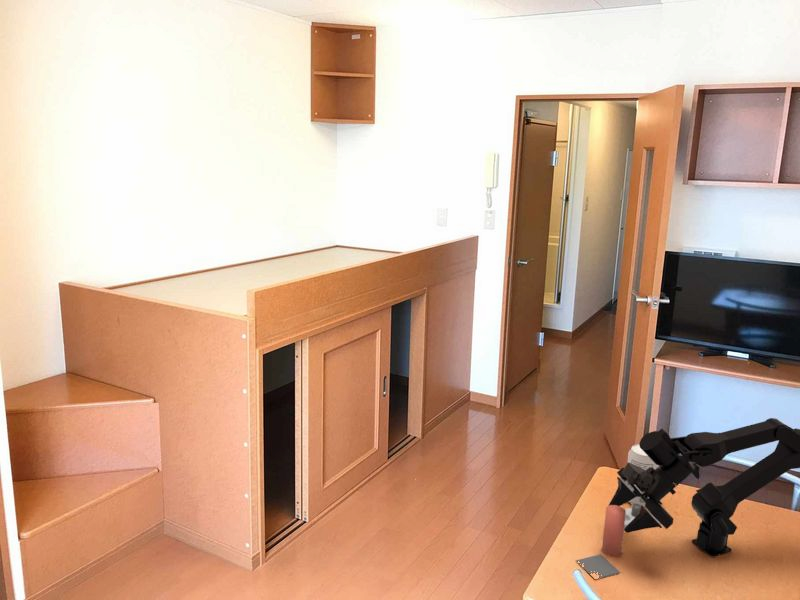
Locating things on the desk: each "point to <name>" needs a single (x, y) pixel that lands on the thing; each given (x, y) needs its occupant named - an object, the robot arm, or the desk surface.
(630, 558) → the desk surface
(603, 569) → the pad
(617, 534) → the red plug
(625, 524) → the plug tray
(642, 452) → the supplement can
